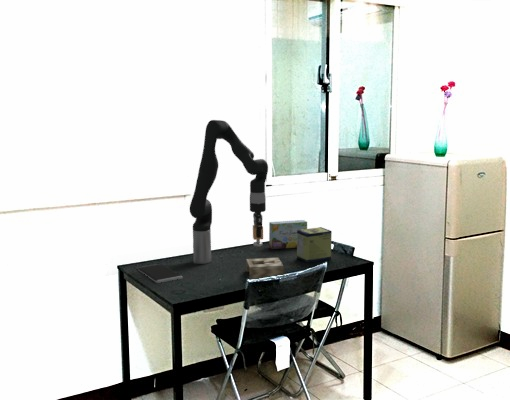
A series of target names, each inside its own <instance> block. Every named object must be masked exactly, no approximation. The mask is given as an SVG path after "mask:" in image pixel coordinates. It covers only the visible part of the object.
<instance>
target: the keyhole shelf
mask: <svg viewBox="0 0 510 400" xmlns="http://www.w3.org/2000/svg"><path fill="white" fill-rule="evenodd" d="M245 262H246V263H245V264H246V272H248V273H249V280H254V279H253V278H263V277H270V276H277V275H283V276H284V265H283V262H282V261H281V260H280V258H279V257H266V258H262V257H261V258H246V261H245Z"/></svg>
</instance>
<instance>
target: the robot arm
mask: <svg viewBox="0 0 510 400" xmlns="http://www.w3.org/2000/svg"><path fill="white" fill-rule="evenodd" d="M217 140H224V141H226V142H227V143H228V144H229V145H230V148H231V151H232V153H233V155H234V156H235V158H237V159H238V160H239V161H240V162H241V163H242V166H243V167H244V169H245V171H246V172H247V173H248V174H250V175H251V176H255V177H254V178H253V179H251V180H250V182H249V191H250V193H249V211H250V212H252V213H253V215H252V217H253V225H256V237H257V238H261V229H262V226H263V215H262V213H264V212H265V211H266V180H267V176H268V172H269V164H268V162H267V161H266V160H265V159H264V158H259V159H258V158H257V159H255V155H254V152H253V151H252V150H251V149H250V148H249V147H248V146H247V145H246V144H244V143H243V142H242V140H241V139H240V138H239V137H238V134H236V132H235V131H234V129H233V128H232V127H231V125H230V124H229V123H228V122H227V121H226V120H220V119H219V120H218V119H210V120H209V121H208V123H207V125H206V127H205V134H204V141H203V142H204V143H203V149H202V155H201V159H200V164H199V169H198V174H197V178H196V182H195V188H194V191H193V195H192V198H191V201H190V203H189V213H190V215H191V217H192V218H194V219H195V221H194V222H193V224H192V248H193V249H192V250H193V251H192V253H193V254H192V255H193V264H199V265H200V264H201V265H202V264H203V265H205V264H209V263H211V262H212V241H211V240H212V239H211V238H212V236H211V235H212V234H211V226H212V222H213V207H212V203H211V201H210V200H209V199H207V198H208V194H209V192H210V190H211V188H212V186H213V184H214V183H215V180H216V178H217V174H218V170H219V161H218V156H217V153H216V144H217ZM258 225H260V227H258Z"/></svg>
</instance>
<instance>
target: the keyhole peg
mask: <svg viewBox="0 0 510 400" xmlns="http://www.w3.org/2000/svg"><path fill="white" fill-rule="evenodd" d="M258 227H260V225H258ZM252 239H253V240H255V241H253V246H254V247H262V246H263V245H264V244H263V241H261V240H264V226H263V225H262V229H261V238H257V237H256V225H254V224H252Z"/></svg>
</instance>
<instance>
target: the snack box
mask: <svg viewBox="0 0 510 400" xmlns="http://www.w3.org/2000/svg"><path fill="white" fill-rule="evenodd" d="M268 223H269V224H268V226H269V228H268V229H269V230H268V231H269V233H268V234H269V235H268V236H269V237H268V240H269V241H268V243H269V244H268V245H269V246H268V247H269V248H270V249H271V250H279V249H293V248H294V249H295V248H296V249H297V230H302V229H308V221H306V220H305V219H301V220H298V219H297V220H282V221H269V222H268Z"/></svg>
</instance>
